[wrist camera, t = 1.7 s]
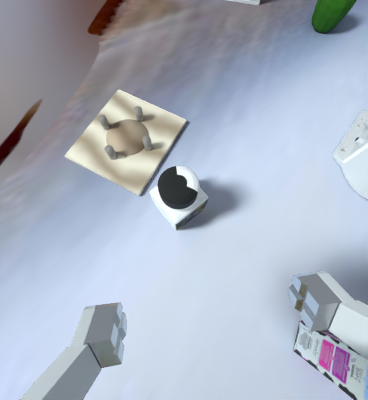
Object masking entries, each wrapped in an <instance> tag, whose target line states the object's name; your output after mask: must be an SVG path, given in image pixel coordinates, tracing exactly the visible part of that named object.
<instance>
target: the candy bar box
mask: <svg viewBox="0 0 368 400" xmlns="http://www.w3.org/2000/svg"><path fill="white" fill-rule="evenodd" d="M293 351H294V352H296V353H297V354H298V355H299V356H301V357H302V358H303V359H304V360H306V361H307V362H308V363H309V364H311V365H312V366H313V367H314V368H316V369H317V370H318V371H319V372H320V373H322V374H323V375H324V376H326V377H327V378H328V379H329V380H331V381H332V382H333V383H334V384H335V385H337V386H338V387H339V388H340V389H341V390H343V391H344V392H345V393H346V394H348V395H349V396H350V397H351V398H353V399H354V400H368V360H367V359H365V358H364V357H363V356H361V355H360V354H359V353H357V352H356V351H355V350H354V349H352V348H351V347H350V346H348V345H347V344H346V343H344V342H343V341H342V340H340V339H339V338H338V337H335V336H333V335H331V334H328V333H326V332H324V331H322V330H321V331H313V332H310V331H309V329H308V328H307V326H306V325H305V323H303V322H301V321H300V322H299V327H298V332H297V336H296V340H295V344H294V350H293Z"/></svg>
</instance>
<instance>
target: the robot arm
mask: <svg viewBox="0 0 368 400" xmlns="http://www.w3.org/2000/svg"><path fill="white" fill-rule="evenodd" d="M333 158H334V159H335V161H336V162H337V163H338V164H339V165H340V166H341V168H342V171H343V173H344V176H345V178H346V180H347V182H348V183H349V185H350V186H351V187H352V188H353V189H354V190H355V191H356V192H357V193H358V194H359V195H361V196H362V197H364V198H365V199H367V200H368V111H363V112H361V113H360V114H359V115H358V116H357V117H356V119H355V120H354V122H353V123H352V125H351V126H350V128H349V129H348V131H347V132H346V134H345V135H344V137H343V138H342V140H341V141H340V143H339V144H338V146H337V147H336V149H335V150H334V152H333ZM291 282H292V285H291V286H290V287H289V291H288V294H289V298H290V301H291V303H292V305H293V306H294V308H295V309H297V310H298V311H300V312H301V319H302V320H303V322H304V323H305V325H306V326H307V328H308V329H309V331H310V332H313V331H321V330H328V329H329V331H330V332H331V333H333V334H334V335H335V336H337V337H338V338H339V339H340V340H342V341H343V342H344V343H346V344H347V345H348V346H350V347H351V348H352V349H354V350H355V351H356V352H357V353H359V354H360V355H361V356H363V357H364V358H365V359H367V360H368V305H367V304H365V303H363V302H361V301H359V300H354V299H353V298H352V297H351V296H350V295H349V294H348V293H347V292H346V291H345V290H344V289H343V288H342V287H341V286H340V285H339V284H338V283H337V282H336V281H335V280H334V279H333V278H332V277H331V276H330V275H329V274H328V273H327V272H326V271H318V272H310V273H304V274H299V275H293V276H292V277H291ZM122 308H123V306H122V304H121V302H119V303H111V304H103V305H95V306H88V307H86V308H85V309H84V311H83V313H82V316H81V318H80V321H79V324H78V327H77V329H76V332H75V335H74V337H73V340H72V343H71V346H70V347H67V348H66V349H65V350H64V351H63V352H62V353H61V354H60V355H59V356H58V357H57V359H56V360H55V361H54V362H53V363H52V364H51V365H50V366H49V367H48V369H47V370H46V371H45V372H44V373H43V374H42V375H41V376H40V377H39V378H38V380H37V381H36V382H35V383H34V384H33V385H32V386H31V387H30V388H29V390H28V391H27V392H26V393H25V394H24V395H23V396H22V397H21V398H20V400H83V399H84V397H85V395H86V394H87V392H88V390H89V389H90V387H91V386H92V384H93V382H94V381H95V379H96V377H97V376H98V374H99V373H100V371H101V368H104V367H109V366H114V365H119V364H122V358H123V351H124V345H123V342H122V340H123V339H124V337H125V336H126V330H127V320H126V315H125V313H124V312H122Z"/></svg>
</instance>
